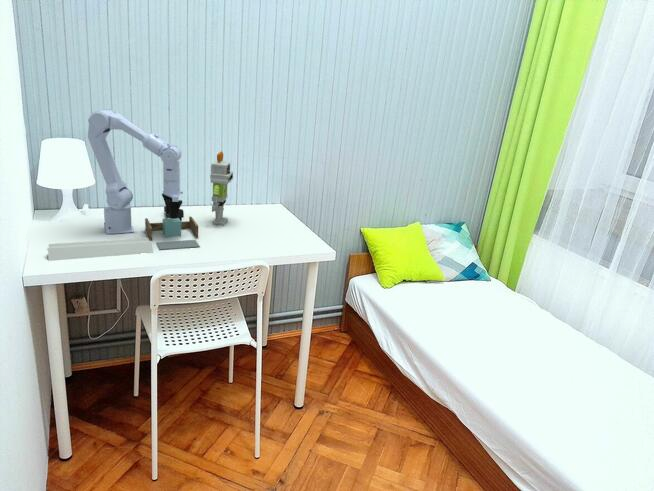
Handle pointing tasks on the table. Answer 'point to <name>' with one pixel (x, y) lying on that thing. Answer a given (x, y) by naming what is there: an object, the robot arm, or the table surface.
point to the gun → (180, 213)
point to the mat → (177, 244)
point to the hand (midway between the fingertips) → (171, 215)
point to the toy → (220, 187)
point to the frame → (159, 227)
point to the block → (171, 227)
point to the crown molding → (99, 249)
